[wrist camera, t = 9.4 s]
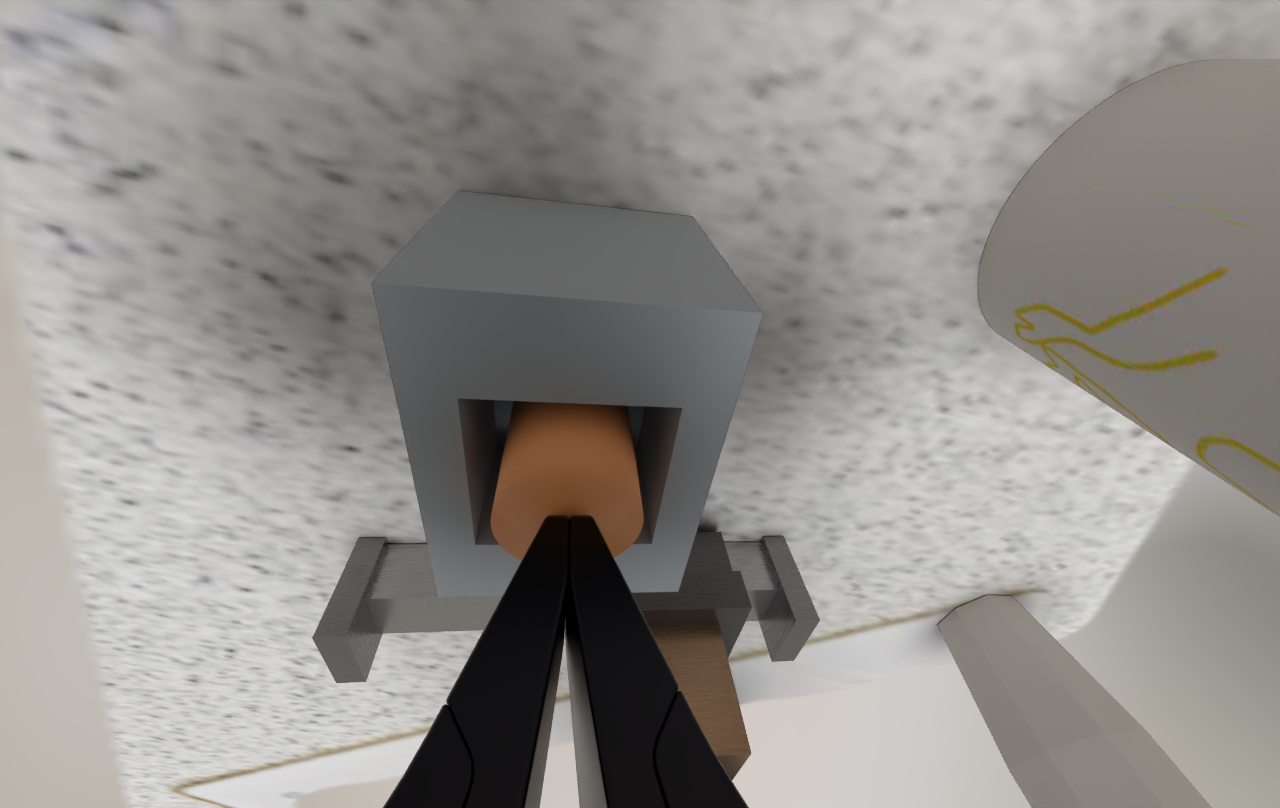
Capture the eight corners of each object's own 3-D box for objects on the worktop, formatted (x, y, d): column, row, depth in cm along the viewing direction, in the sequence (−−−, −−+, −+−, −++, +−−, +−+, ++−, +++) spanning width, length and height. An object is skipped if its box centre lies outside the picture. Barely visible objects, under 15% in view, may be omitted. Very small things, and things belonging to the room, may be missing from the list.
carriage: (696, 600, 23) (740, 802, 17) (575, 604, 22) (574, 819, 16) (724, 521, 20) (793, 737, 13) (582, 520, 19) (584, 753, 12)
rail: (764, 577, 23) (793, 660, 20) (374, 585, 20) (336, 683, 17) (783, 536, 21) (819, 620, 18) (358, 537, 18) (312, 638, 15)
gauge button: (621, 452, 13) (633, 568, 10) (514, 449, 12) (494, 570, 9) (634, 363, 11) (653, 471, 8) (511, 356, 10) (486, 468, 8)
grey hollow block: (650, 442, 17) (678, 591, 12) (480, 437, 16) (438, 597, 11) (692, 216, 12) (762, 313, 8) (457, 190, 12) (371, 282, 7)
